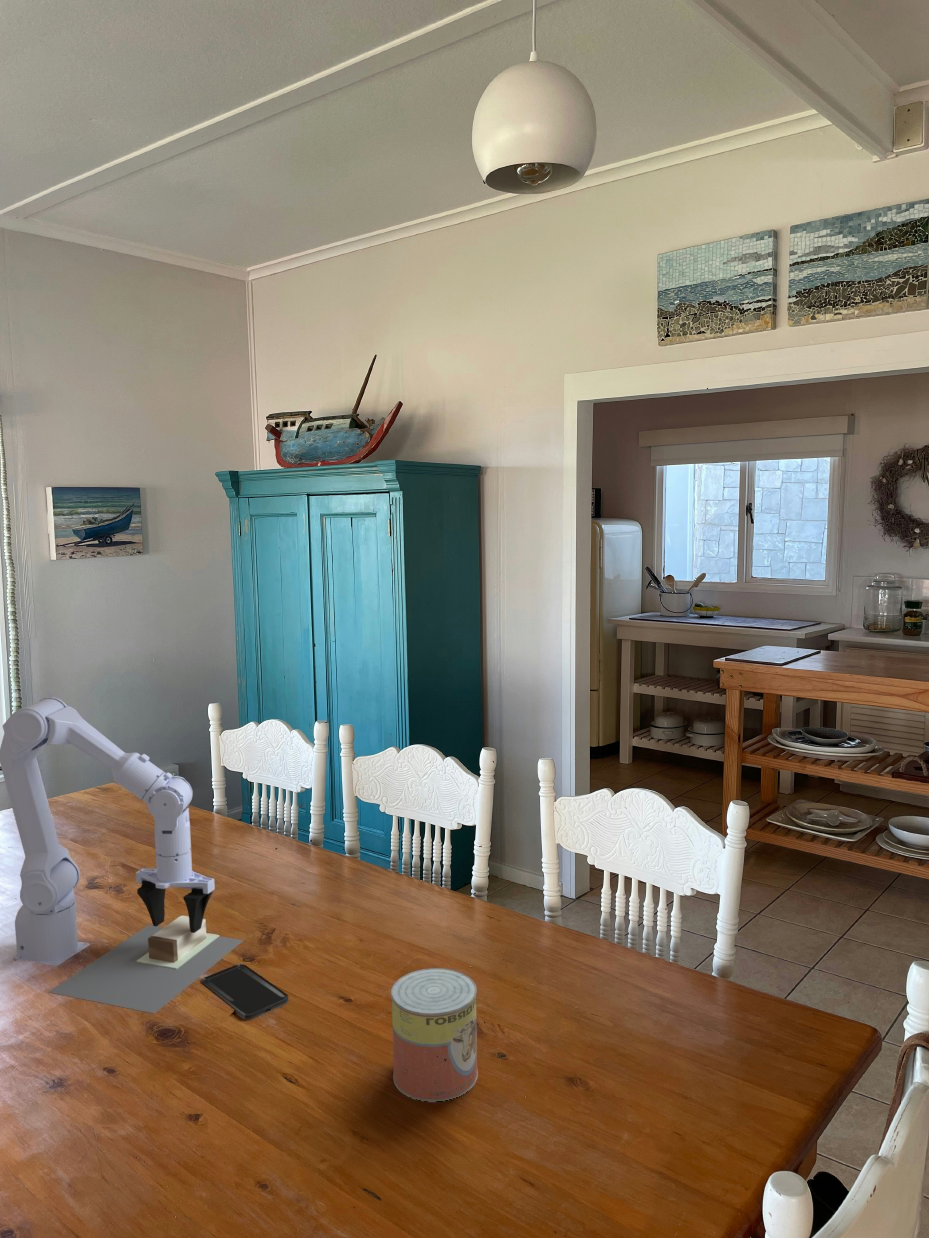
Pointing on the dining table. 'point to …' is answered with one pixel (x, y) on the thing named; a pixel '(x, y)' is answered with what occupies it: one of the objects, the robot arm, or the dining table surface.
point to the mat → (140, 974)
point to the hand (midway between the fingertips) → (177, 926)
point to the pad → (183, 959)
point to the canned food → (434, 1034)
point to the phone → (245, 991)
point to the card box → (175, 940)
